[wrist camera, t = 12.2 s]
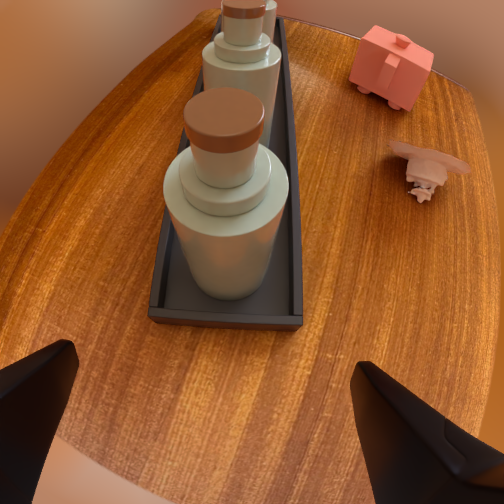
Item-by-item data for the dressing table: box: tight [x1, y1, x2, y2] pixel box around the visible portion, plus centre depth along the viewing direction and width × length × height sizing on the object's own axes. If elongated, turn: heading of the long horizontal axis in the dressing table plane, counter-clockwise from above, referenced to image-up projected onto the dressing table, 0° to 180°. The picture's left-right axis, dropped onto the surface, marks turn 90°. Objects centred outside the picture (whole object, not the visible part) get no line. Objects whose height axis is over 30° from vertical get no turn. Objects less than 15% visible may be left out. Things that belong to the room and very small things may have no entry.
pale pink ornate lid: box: [386, 140, 471, 203], centre depth 23 cm, size 8×5×8 cm
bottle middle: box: [221, 0, 277, 43], centre depth 24 cm, size 5×5×13 cm
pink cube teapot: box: [348, 25, 434, 112], centre depth 28 cm, size 8×12×8 cm, turn 149°
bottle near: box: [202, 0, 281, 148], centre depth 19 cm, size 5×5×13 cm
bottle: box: [163, 87, 289, 301], centre depth 15 cm, size 5×5×13 cm
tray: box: [148, 15, 303, 331], centre depth 27 cm, size 42×9×2 cm, turn 178°
